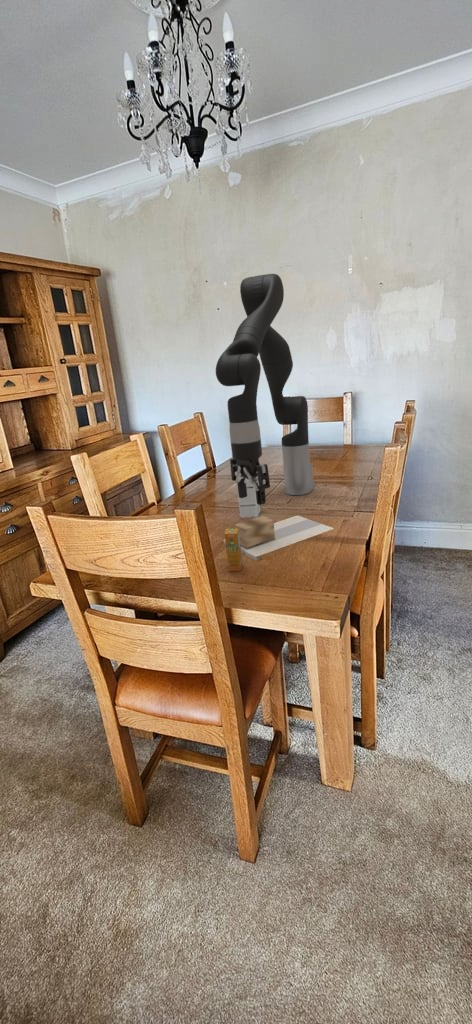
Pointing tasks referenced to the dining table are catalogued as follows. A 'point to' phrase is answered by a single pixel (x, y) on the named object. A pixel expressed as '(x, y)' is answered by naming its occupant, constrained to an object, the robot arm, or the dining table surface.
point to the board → (287, 535)
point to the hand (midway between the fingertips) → (252, 500)
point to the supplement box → (233, 549)
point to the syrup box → (249, 502)
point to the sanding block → (256, 532)
